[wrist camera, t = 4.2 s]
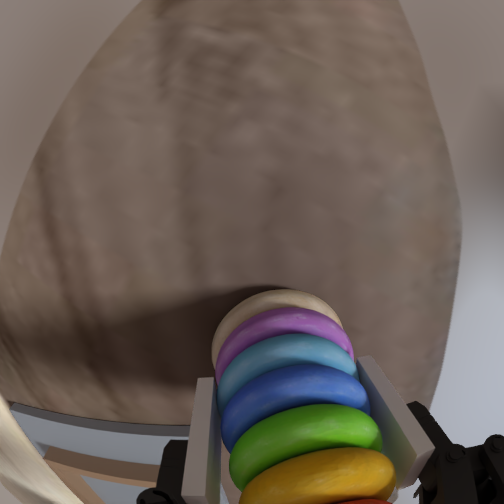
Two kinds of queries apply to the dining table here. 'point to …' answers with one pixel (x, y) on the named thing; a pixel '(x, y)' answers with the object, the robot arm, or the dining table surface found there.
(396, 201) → the dining table surface
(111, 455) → the baseplate
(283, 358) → the stacking toy
